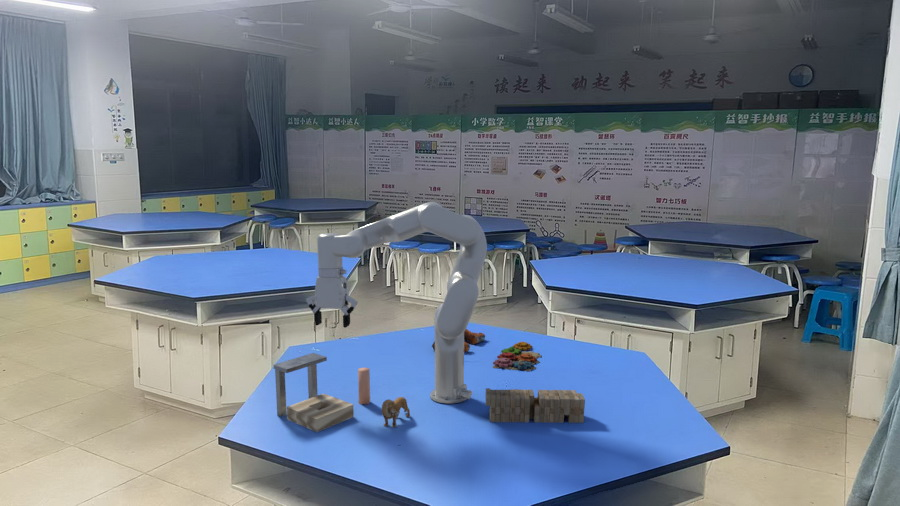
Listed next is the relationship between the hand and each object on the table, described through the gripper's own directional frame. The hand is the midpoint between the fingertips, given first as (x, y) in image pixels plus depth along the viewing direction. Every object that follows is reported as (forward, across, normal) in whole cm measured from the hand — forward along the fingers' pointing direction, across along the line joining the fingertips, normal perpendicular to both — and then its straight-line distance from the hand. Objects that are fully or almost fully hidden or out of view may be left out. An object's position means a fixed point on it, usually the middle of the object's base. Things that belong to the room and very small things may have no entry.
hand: (332, 325), depth 206 cm
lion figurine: (+25, -26, +12) cm, 38 cm away
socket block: (+25, -2, +15) cm, 29 cm away
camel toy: (+26, -24, -67) cm, 75 cm away
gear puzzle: (+26, -51, -59) cm, 82 cm away
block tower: (+26, -64, -3) cm, 69 cm away
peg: (+25, -10, 0) cm, 27 cm away
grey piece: (+25, +6, +11) cm, 28 cm away
